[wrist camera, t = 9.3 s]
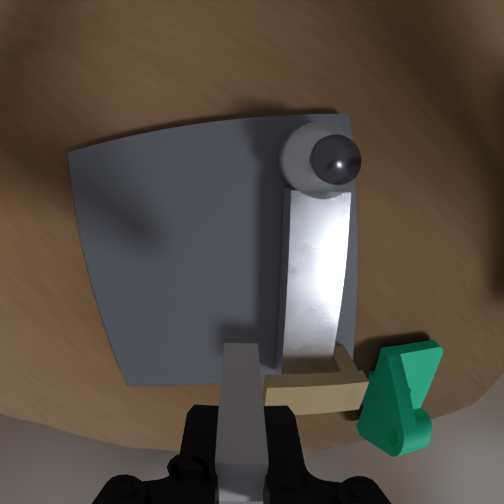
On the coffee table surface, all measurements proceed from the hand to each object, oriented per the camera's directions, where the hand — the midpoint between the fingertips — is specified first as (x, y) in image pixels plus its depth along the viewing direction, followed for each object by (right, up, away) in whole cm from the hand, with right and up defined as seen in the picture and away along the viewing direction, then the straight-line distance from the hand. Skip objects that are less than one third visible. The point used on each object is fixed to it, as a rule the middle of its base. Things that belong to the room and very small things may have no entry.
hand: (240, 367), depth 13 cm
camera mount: (+17, -10, +17) cm, 26 cm away
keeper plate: (-2, +4, +11) cm, 12 cm away
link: (+5, +4, +10) cm, 12 cm away
